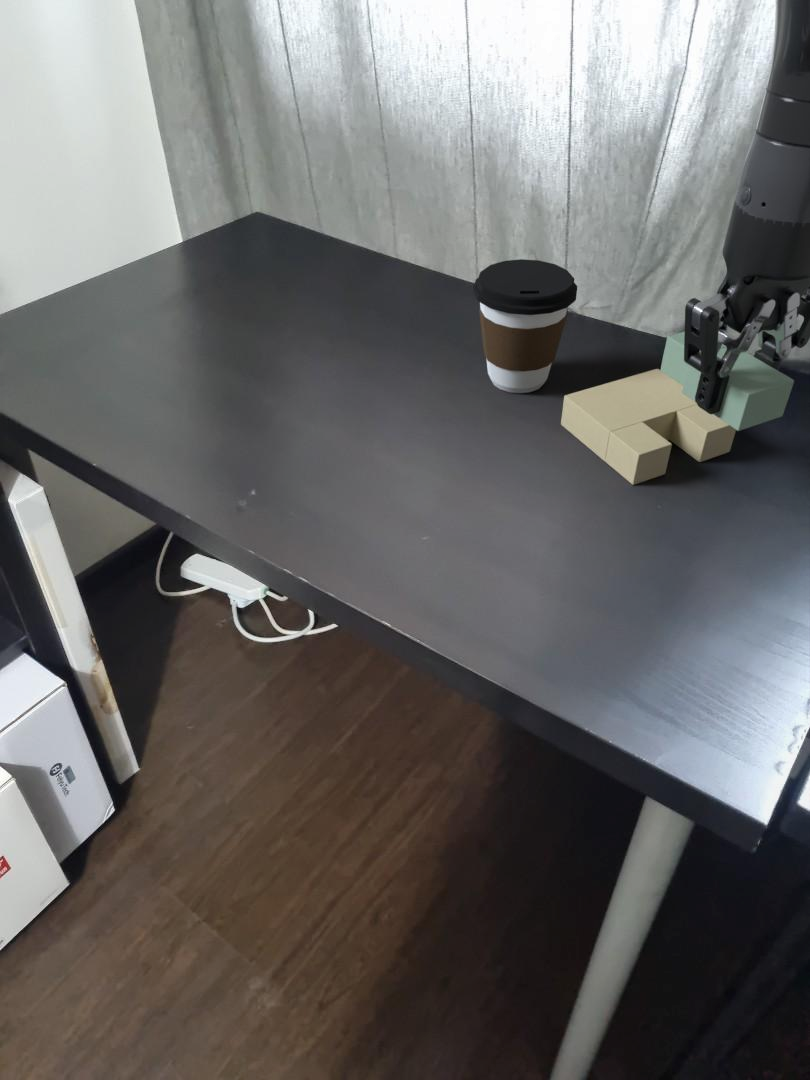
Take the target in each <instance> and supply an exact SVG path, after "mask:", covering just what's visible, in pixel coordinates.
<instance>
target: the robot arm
mask: <svg viewBox="0 0 810 1080" xmlns="http://www.w3.org/2000/svg"><path fill="white" fill-rule="evenodd" d="M774 12H775V13H774V31H773V33H774V34H773V45H772V56H771V63H770V64H771V65H770V68H769V74H768V78H767V83H766V86H765V87H766V88H765V90H764V93H763V94H764V95H763V98H762V102H761V106H760V111H759V115H758V118H757V123H756V127H755V128H756V129H755V131H754V134H753V138H752V140H751V143H750V145H749V148H748V151H747V153H746V156H745V159H744V162H743V165H742V169H741V173H740V176H739V177H740V178H739V181H738V185H737V189H736V194H735V198H734V202H733V205H732V211H731V215H730V217H729V218H730V219H729V223H728V226H727V231H726V234H725V239H724V243H723V247H722V257H723V259H724V263H725V266H726V267H725V268H726V272H725V275H724V278H723V280H722V282H721V283H720V285H719V287H718V289H717V291H716V294H715V295H713V296H711V297H709V298H708V299H705V300H703V301H702V300H700V299H698V298H695V297H693V298H690V299H689V300H688V301H687V302H686V304H685V308H684V331H685V337H684V361H685V362H686V363H687V364H689V365H690V366H692V367H693V368H695V369H696V370H698V371H700V372H701V375H700V379H699V383H698V388H697V392H696V395H695V402H696V403H697V405H698V406H699V407H700V408H701V409H703V410H704V411H706V412H707V413H709V414H714V413H718V412H719V411H720V409H721V405H722V402H723V398H724V394H725V391H726V387H727V384H728V381H729V378H730V376H729V375H728V374H729V373H730V371H731V370H732V368H733V366H734V364H735V362H736V360H737V358H738V357H739V355H740V353H742V352H748V351H749V349H750V348H751V346H752V344H753V342H754V340H755V338H756V336H757V334H758V340H757V341H758V347H759V348H761V349H758V350H757V349H756V350H754V351H755V352H754V354H753V356H754V357H755V358H757V359H759V360H760V361H762V362H764V363H765V364H767V365H769V366H770V367H772V368H774V369H776V370H777V371H779V372H780V368H781V365H782V362H783V360H786V359H787V358H788V357H789V355H790V353H791V352H792V349H793V348H795V347H797V348H798V349H802V348H803V347H805V346H806V345H807V344H808V342H809V340H810V0H775V11H774ZM799 315H800V316H802V317H803V321H802V323H801V325H800V327H799V329H798V328H797V325H798V324H797V322H798V321H797V320H798V317H799ZM728 328H729V329H731V330H733V331H734V332H737V333H738V334H739V335H738V337H737V336H735V335H733V334H732V333H730V332H728ZM722 345H723V346H725V347H727V350H726V352H725V354H724V356H723V357H722V359H720V358H719V357H717V354H718V352H719V350H720V348H721V346H722ZM700 351H701V352H700Z"/></svg>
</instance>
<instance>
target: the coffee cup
mask: <svg viewBox="0 0 810 1080" xmlns="http://www.w3.org/2000/svg"><path fill="white" fill-rule="evenodd" d="M472 288H473V289H472V294H473V295H474V297H475V299H476V300H477V302H479V309H478V313H479V321H480V330H481V331H480V332H481V338H482V346H483V347H482V348H483V355H484V357H485V359H486V368H487V375H488V377H489V379H490V381H491V382H492V385H493V386H494V387H496V388H497V389H499V390H501V391H504V392H507V393H512V394H528V393H532V392H535V391H537V390H539V389H540V388H541V387H543V385H544V384H545V383H546V382H547V380H548V379H549V378H548V377H549V374H550V371H551V367H552V364H553V362H554V361H555V359H556V356H557V352H558V348H559V346H560V341H561V339H562V334H563V331H564V328H565V325H566V321H567V317H568V312H569V307H570V306H571V305H572V304H574V303H575V302H576V301H577V295H578V285H577V283H575V277H574V276H573V275H572V273H570V272H569V270H568V269H566V268H564V267H562V266H560V265H558V264H556V263H551V262H547V261H544V260H539V259H524V258H523V259H522V258H521V259H509V260H503V261H499V262H496V263H493V264H490V265H488V266H487V267H485V268H484V269H482V270H481V271H480V272H479V274H478V277H476V279H475V281H474V283H473V286H472Z"/></svg>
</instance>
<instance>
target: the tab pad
mask: <svg viewBox="0 0 810 1080" xmlns="http://www.w3.org/2000/svg"><path fill="white" fill-rule="evenodd" d="M684 337H685V330H683V331H680V332H678V333H674V334H670V335H667V338H666V342H665V345H664V346H665V347H664V351H663V354H662V360H661V365H660V369H659V370H660V371H662V372H663V373H665V374H666V375H668V376H669V377H671V378H672V379H674V380H675V381H677V382H678V383H680V384H681V385H683V390H682V393H683V394H685V395H686V396H687V397H689V398H690V399H692V400H693V401H695V395H696V392H697V388H698V383H699V379H700V375H701V372H700V371H698V370H696V369H695V368H693V367H692V366H690V365H689V364H687V363H686V362H685V361H684ZM726 350H727V347H726V346H725V345H723V344H722V346H721V348H720V350H719V352H718V354H717V357H719V358H720V359H722V357H723V356H724V354H725V352H726ZM700 352H701V351H700ZM728 375H729V376H730V378H729V381H728V384H727V387H726V391H725V394H724V398H723V402H722V405H721V409H720V411H719V412H718V413H714V415H715V416H717V417H718V418H720V419H721V420H723V421H724V422H726V423H727V424H728V425H730V426H731V427H733V428H734V429H736V432H740V431H743V430H745V429H748V428H752V427H754V426H757V425H760V424H763V423H766V422H769V421H772V420H775V419H779V418H781V417H783V415H784V413H785V410H786V407H787V404H788V401H789V398H790V395H791V392H792V389H793V386H794V384H795V380H794V379H793V378H791V377H790V376H788V375H787V374H784V373H783V372H781V371H780V370H779V371H777V370H776V369H774V368H772V367H770V366H769V365H767V364H765V363H764V362H762V361H760V360H759V359H757V358H755V357H754V355H751V354H750V353H749V352H748V351H746V352H742V353H740V355H739V357H738V358H737V360H736V362H735V364H734V366H733V368H732V370H731V371H730V373H729V374H728Z"/></svg>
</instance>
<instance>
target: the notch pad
mask: <svg viewBox="0 0 810 1080" xmlns="http://www.w3.org/2000/svg"><path fill="white" fill-rule="evenodd" d="M682 390H683V385H681V384H680V383H678V382H677V381H675V380H674V379H672V378H671V377H669V376H668V375H666V374H665V373H663V372H662V371H660V369H659V368H655V369H651V370H647V371H645V372H642V373H637V374H634V375H631V376H627V377H624V378H620V379H616V380H612V381H610V382H606V383H603V384H600V385H596V386H593V387H589V388H586V389H582V390H579V391H575V392H572V393H568V394H565V395H564V396H563V404H562V413H561V418H560V419H561V420H560V425H561V426H562V427H563V428H564V429H566V431H568V432H569V433H570V434H571V435H572V436H574V437H575V438H576V439H577V440H578V441H580V442H581V443H582V444H583V445H584V446H586V447H587V448H588V449H589V450H590V451H591V452H593V453H594V454H595V455H596V456H598V457H599V458H600V459H601V460H602V461H604V462H605V463H606V464H608V466H609V467H611V468H612V469H613V470H614V471H615V472H617V473H618V474H619V475H620V476H622V477H623V478H624V479H625V480H626V481H627V482H629V483H630V484H631V485H632V486H634V485H637V484H641V483H643V482H647V481H649V480H652V479H655V478H658V477H660V476H663V475H665V474H666V471H667V468H668V463H669V459H670V454H671V450H672V446H673V444H674V445H676V446H677V447H678V448H680V449H681V450H682V451H683V452H685V453H686V454H688V455H689V456H690V457H692V458H693V459H694V460H696V461H697V462H698V463H702V462H705V461H707V460H711V459H713V458H716V457H719V456H722V455H725V454H727V453H730V452H731V449H732V445H733V441H734V438H735V436H736V432H737V430H736V429H734V428H733V427H731V426H730V425H728V424H727V423H726V422H724V421H723V420H721V419H720V418H718V417H717V416H715V415H714V414H709V413H707V412H706V411H704V410H703V409H701V408H700V407H699V406H698V405H697V403H696V402H695V401H693V400H692V399H690V398H689V397H687V396H686V395H685V394H683V393H682ZM672 443H673V444H672Z"/></svg>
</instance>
